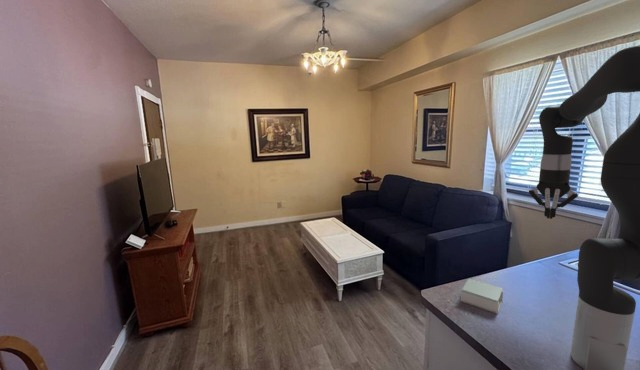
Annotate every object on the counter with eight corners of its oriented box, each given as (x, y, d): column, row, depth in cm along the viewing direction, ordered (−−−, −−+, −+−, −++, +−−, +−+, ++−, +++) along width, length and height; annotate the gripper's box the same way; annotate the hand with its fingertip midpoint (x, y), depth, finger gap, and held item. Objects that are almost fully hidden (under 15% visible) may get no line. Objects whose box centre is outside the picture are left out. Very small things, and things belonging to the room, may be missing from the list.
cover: (502, 290, 92) (502, 288, 92) (497, 303, 85) (497, 300, 85) (468, 280, 99) (468, 278, 99) (461, 291, 92) (462, 289, 92)
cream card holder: (502, 301, 92) (503, 290, 92) (497, 314, 86) (498, 303, 85) (467, 289, 100) (467, 280, 99) (460, 301, 93) (460, 290, 93)
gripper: (528, 168, 88) (524, 217, 91) (583, 170, 80) (576, 224, 83) (530, 165, 94) (526, 212, 97) (582, 167, 85) (576, 218, 88)
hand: (549, 218), depth 90 cm, fingers closed
